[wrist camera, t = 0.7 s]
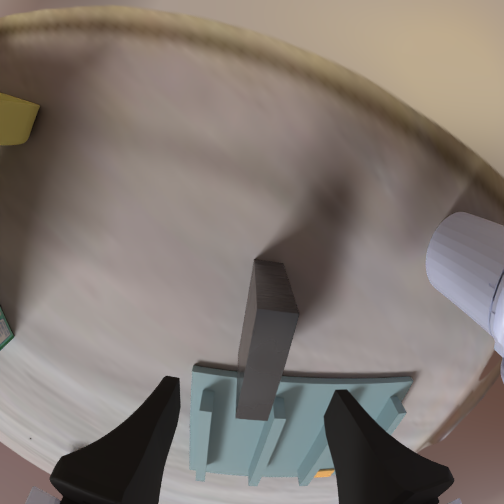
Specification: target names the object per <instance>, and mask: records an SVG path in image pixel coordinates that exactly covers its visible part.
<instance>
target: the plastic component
mask: <svg viewBox="0 0 504 504" xmlns="http://www.w3.org/2000/svg"><path fill="white" fill-rule="evenodd" d="M39 107H40V105H38V104H35V103H32V102H29V101H26V100H23V99H20V98H16V97H13V96H10V95H7V94H3V93H0V145H19V144H23V143H25V142H26V141H27V140H28V138H29V135H30V132H31V129H32V126H33V123H34V120H35V118H36V115H37V112H38V110H39Z"/></svg>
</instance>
